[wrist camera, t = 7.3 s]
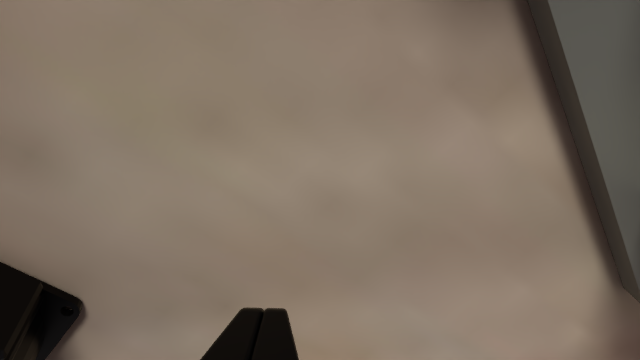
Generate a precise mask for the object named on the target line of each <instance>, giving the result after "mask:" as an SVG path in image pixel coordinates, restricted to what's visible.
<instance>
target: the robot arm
mask: <svg viewBox="0 0 640 360" xmlns="http://www.w3.org/2000/svg"><path fill="white" fill-rule="evenodd" d="M65 306H68V307H71V308H72V310H68V309H66V308H64V307H65ZM81 309H82V302H81V301H80V299H78V298H77V297H75V296H73V295H70V294H68V293H66V292H64V291H62V290H60V289H57V288H55V287H53V286H51V285H49V284H47V283H44V282H42V281H40V280H38V279H36V278H34V277H31V276H29V275H27V274H25V273H23V272H21V271H19V270H16V269H14V268H12V267H10V266H8V265H6V264H3V263H1V262H0V360H45V359H46V358H47V356H48V355H49V354H50V353H51V351H52V350H53V349H54V347H55V346H56V345H57V343H58V342H59V341H60V340H61V338H62V337H63V336H64V334H65V333H66V332H67V330H68V329H69V328H70V327H71V325H72V324H73V323H74V321H75V320H76V319H77V317H78V316H79V314H80V311H81ZM200 360H299V358H298V354H297V350H296V346H295V342H294V338H293V334H292V330H291V326H290V322H289V318H288V314H287V311H286V310H285V309H282V308H267V309H265V311H264V310H263V309H262V308H243V309H241V310H240V311H239V312H238V313H237V315H236V316H235V317H234V318H233V320H232V321H231V322H230V323H229V325H228V326H227V327H226V328H225V330H224V331H223V332H222V333H221V335H220V336H219V337H218V338H217V340H216V341H215V342H214V343H213V345H212V346H211V347H210V348H209V350H208V351H207V352H206V353H205V355H204V356H203V357H202V358H201V359H200Z"/></svg>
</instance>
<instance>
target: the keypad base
mask: <svg viewBox="0 0 640 360" xmlns="http://www.w3.org/2000/svg"><path fill="white" fill-rule="evenodd" d="M528 3H529V6H530V9H531V12H532V15H533V18H534V21H535V24H536V27H537V30H538V33H539V36H540V39H541V42H542V45H543V48H544V51H545V54H546V57H547V60H548V63H549V66H550V69H551V72H552V75H553V78H554V81H555V84H556V87H557V90H558V93H559V96H560V99H561V102H562V105H563V108H564V111H565V114H566V117H567V120H568V123H569V126H570V129H571V132H572V135H573V138H574V141H575V144H576V147H577V150H578V153H579V156H580V159H581V162H582V165H583V168H584V171H585V174H586V177H587V180H588V183H589V186H590V189H591V192H592V195H593V198H594V201H595V204H596V207H597V210H598V213H599V216H600V219H601V222H602V225H603V227H604V230H605V233H606V236H607V239H608V242H609V245H610V248H611V251H612V254H613V257H614V260H615V263H616V266H617V269H618V272H619V275H620V278H621V281H622V284H623V287H624V289H625V290H627V291H628V292H629V293H630V294H631V295H632V296H633V297H634V298H635V299H636V300H637V301H639V302H640V0H528Z"/></svg>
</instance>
